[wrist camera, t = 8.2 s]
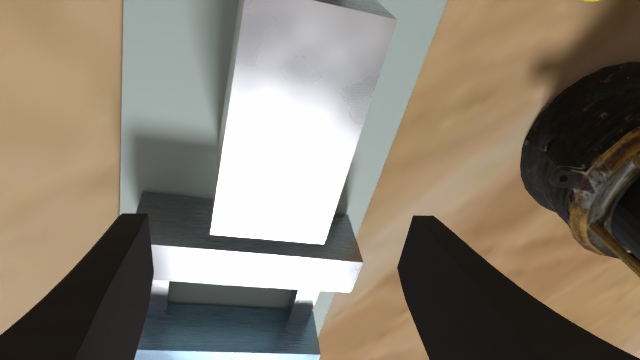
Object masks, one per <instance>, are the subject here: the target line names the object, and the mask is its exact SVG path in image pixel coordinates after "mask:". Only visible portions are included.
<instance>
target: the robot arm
mask: <svg viewBox="0 0 640 360" xmlns="http://www.w3.org/2000/svg"><path fill="white" fill-rule="evenodd" d="M397 268H398V272H399V276H400V281H401V285H402V289H403V292H404V296H405V300H406V302H407V305H408V307H409V310H410V312H411V315H412V318H413V320H414V323H415V325H416V327H417V330H418V332H419V335H420V337H421V340H422V342H423V345H424V347H425V350H426V352H427V354H428V357H429V359H430V360H640V359H639V358H637V357H635V356H633V355H631V354H629V353H627V352H625V351H623V350H621V349H619V348H617V347H615V346H613V345H611V344H610V343H608V342H606V341H604V340H602V339H600V338H598V337H597V336H595V335H593V334H591V333H590V332H588V331H586V330H585V329H583V328H581V327H579V326H578V325H576V324H574V323H572V322H571V321H569V320H568V319H566V318H564V317H563V316H561V315H559V314H558V313H556V312H555V311H553V310H552V309H550V308H549V307H547V306H546V305H544V304H543V303H541V302H540V301H538V300H537V299H535V298H534V297H533V296H531V295H530V294H528V293H527V292H526V291H524V290H523V289H521V288H520V287H519V286H518V285H516V284H515V283H514V282H512V281H511V280H510V279H508V278H507V277H506V276H504V275H503V274H502V273H501V272H499V271H498V270H497V269H496V268H494V267H493V266H492V265H491V264H490V263H488V262H487V261H486V260H485V259H484V258H482V257H481V256H480V255H479V254H478V253H476V252H475V251H474V250H473V249H472V248H471V247H469V246H468V245H467V244H466V243H465V242H464V241H463V240H461V239H460V238H459V237H458V236H457V235H456V234H455V233H453V232H452V231H451V230H450V229H449V228H448V227H446V226H445V225H444V224H443V223H442V222H440V221H439V220H438V219H437V218H435V217H434V216H413V218H412V222H411V225H410V228H409V231H408V235H407V238H406V241H405V244H404V248H403V251H402V254H401V257H400V261H399V264H398V267H397ZM153 275H154V266H153V257H152V248H151V238H150V229H149V220H148V214H147V213H122V214H121V215H120V216H119V217H118V218H117V219H116V220H115V221H114V223H113V224H112V225H111V226H110V227H109V229H108V230H107V231H106V232H105V233H104V235H103V236H102V237H101V238H100V239H99V241H98V242H97V243H96V244H95V245H94V246H93V247H92V249H91V250H90V251H89V252H88V253H87V254H86V255H85V256H84V257H83V258H82V259H81V261H80V262H79V263H78V264H77V265H76V266H75V267H74V268H73V269H72V270H71V271H70V272H69V273H68V274H67V275H66V276H65V277H64V278H63V279H62V280H61V281H60V282H59V283H58V284H57V285H56V286H55V287H54V288H53V289H52V290H51V291H50V292H49V293H48V294H47V295H46V296H45V297H44V298H43V299H42V300H41V301H40V302H39V303H37V304H36V305H35V306H34V307H33V308H32V309H31V310H30V311H29V312H27V313H26V314H25V315H24V316H23V317H22V318H21V319H19V320H18V321H17V322H16V323H15V324H13V325H12V326H11V327H10V328H9V329H7V330H6V331H5V332H4V333H3V334H1V335H0V360H134V359H135V355H136V352H137V348H138V345H139V341H140V337H141V334H142V330H143V327H144V323H145V319H146V316H147V312H148V308H149V302H150V296H151V289H152V282H153Z"/></svg>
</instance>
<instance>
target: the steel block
mask: <svg viewBox="0 0 640 360" xmlns="http://www.w3.org/2000/svg"><path fill="white" fill-rule="evenodd" d="M397 21H398V20H397V19H396V18H395V17H394V16H393V15H392V14H391V13H390V12H389V11H388V10H386V9H385V8H384V7H383V6H382V5H381V4H380V3H379V2H378V1H377V0H238V6H237V13H236V20H235V27H234V34H233V41H232V48H231V56H230V63H229V70H228V77H227V84H226V91H225V99H224V106H223V113H222V120H221V127H220V134H219V141H218V150H217V162H216V173H215V185H214V197H213V208H212V220H211V231H210V234H213V235H224V236H236V237H247V238H259V239H270V240H281V241H293V242H304V243H316V244H324V243H325V240H326V237H327V234H328V231H329V228H330V225H331V222H332V219H333V215H334V212H335V209H336V206H337V203H338V200H339V197H340V194H341V191H342V188H343V185H344V182H345V179H346V176H347V173H348V170H349V167H350V164H351V161H352V158H353V155H354V152H355V149H356V145H357V142H358V139H359V136H360V133H361V130H362V127H363V124H364V121H365V118H366V115H367V112H368V109H369V106H370V103H371V100H372V97H373V94H374V91H375V88H376V85H377V82H378V79H379V75H380V72H381V69H382V66H383V63H384V60H385V57H386V54H387V51H388V48H389V45H390V42H391V39H392V36H393V33H394V30H395V27H396V24H397Z"/></svg>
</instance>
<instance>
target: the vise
mask: <svg viewBox="0 0 640 360" xmlns="http://www.w3.org/2000/svg"><path fill="white" fill-rule="evenodd" d="M377 1H378V2H379V3H380V4H381V5H382V6H383V7H384V8H385V9H386V10H388V11H389V12H390V13H391V14H392V15H393V16H394V17H395V18H396V19H397V20H398V21H397V24H396V27H395V30H394V33H393V36H392V39H391V42H390V45H389V48H388V51H387V54H386V57H385V60H384V63H383V66H382V69H381V72H380V75H379V79H378V82H377V85H376V88H375V91H374V94H373V97H372V100H371V103H370V106H369V109H368V112H367V115H366V118H365V121H364V124H363V127H362V130H361V133H360V136H359V139H358V142H357V145H356V149H355V152H354V155H353V158H352V161H351V164H350V167H349V170H348V173H347V176H346V179H345V182H344V185H343V188H342V191H341V194H340V197H339V200H338V203H337V206H336V209H335V212H334V213H341V214H348V216H349V219H350V222H351V225H352V229H353V232H354V235H355V238H356V236H357V234H358V231H359V229H360V226H361V223H362V221H363V218H364V216H365V213H366V210H367V208H368V205H369V203H370V200H371V198H372V195H373V192H374V190H375V187H376V185H377V182H378V179H379V177H380V174H381V172H382V169H383V166H384V164H385V161H386V159H387V156H388V153H389V151H390V148H391V146H392V143H393V140H394V138H395V135H396V133H397V130H398V127H399V125H400V122H401V120H402V117H403V114H404V112H405V109H406V107H407V104H408V101H409V99H410V96H411V94H412V91H413V88H414V86H415V83H416V81H417V78H418V75H419V73H420V70H421V68H422V65H423V62H424V60H425V57H426V55H427V52H428V49H429V47H430V44H431V42H432V39H433V36H434V34H435V31H436V29H437V26H438V23H439V21H440V18H441V16H442V13H443V10H444V8H445V5H446V3H447V0H377ZM237 6H238V0H124V3H123V60H122V116H121V173H120V215H121V214H122V213H136V211H137V208H138V205H139V201H140V198H141V195H142V192H143V191H147V192H155V193H164V194H173V195H182V196H191V197H199V198H208V199H213V197H214V185H215V173H216V162H217V150H218V141H219V134H220V127H221V120H222V113H223V106H224V99H225V91H226V84H227V77H228V70H229V63H230V56H231V48H232V41H233V34H234V27H235V20H236V13H237ZM293 290H294V289H283V288H268V287H252V286H237V285H222V284H206V283H191V282H175V281H170V287H169V297H168V303H170V304H189V305H208V306H227V307H246V308H265V309H284V310H287V309H288V306H289V303H290V300H291V297H292V293H293ZM334 294H335V292H329V291H319V294H318V296H317V299H316V302H315V305H314V308H313V310H312V311H313V313H314V319H315V325H316V331H317V337H318V335H319V333H320V330H321V327H322V325H323V322H324V320H325V317H326V314H327V312H328V309H329V307H330V304H331V301H332V299H333V296H334Z"/></svg>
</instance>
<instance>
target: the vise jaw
mask: <svg viewBox="0 0 640 360" xmlns="http://www.w3.org/2000/svg"><path fill="white" fill-rule="evenodd" d="M212 208H213V199H208V198H199V197H191V196H182V195H173V194H164V193H155V192H147V191H143V192H142V195H141V198H140V201H139V205H138V208H137V211H136V213H147V214H148V220H149V229H150V238H151V248H152V257H153V266H154V275H153V282H152V289H151V296H150V302H149V308H148V312H147V316H146V319H145V323H144V327H143V330H142V334H141V337H140V341H139V345H138V348H137V352H136V355H135V359H134V360H319V357H320V349H319V343H318V337H317V331H316V325H315V319H314V313H313V311H312V310H313V308H314V305H315V302H316V299H317V296H318V294H319V291H329V292H345V293H351V291H352V289H353V286H354V284H355V281H356V279H357V276H358V274H359V272H360V269H361V267H362V264H363V260H362V257H361V254H360V251H359V247H358V244H357V241H356V238H355V235H354V232H353V229H352V225H351V222H350V219H349V216H348V214H341V213H334V215H333V219H332V222H331V225H330V228H329V231H328V234H327V237H326V240H325V243H324V244H316V243H304V242H293V241H281V240H270V239H259V238H247V237H236V236H224V235H213V234H210V231H211V220H212ZM170 281H175V282H191V283H206V284H222V285H237V286H252V287H268V288H283V289H294V290H293V293H292V297H291V300H290V303H289V306H288V309H287V310H284V309H265V308H246V307H227V306H208V305H189V304H170V303H168V297H169V287H170Z"/></svg>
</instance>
